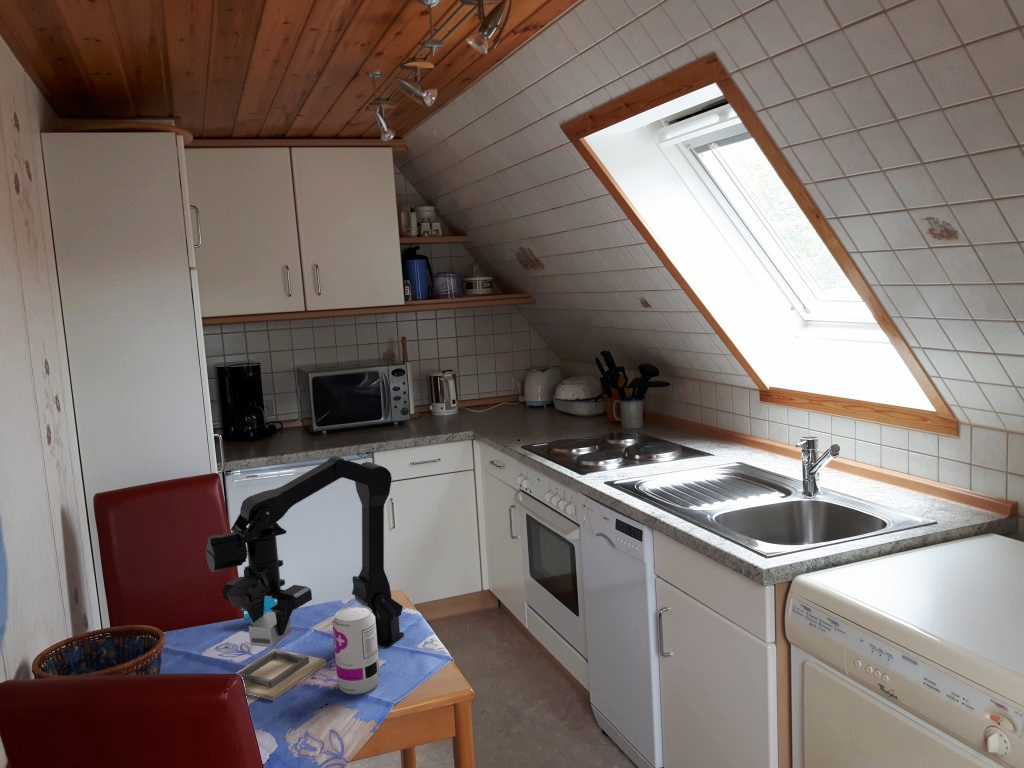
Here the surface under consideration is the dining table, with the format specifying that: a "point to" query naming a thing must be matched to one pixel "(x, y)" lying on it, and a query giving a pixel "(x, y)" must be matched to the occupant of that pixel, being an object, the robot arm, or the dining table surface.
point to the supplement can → (356, 650)
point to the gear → (267, 605)
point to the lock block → (266, 631)
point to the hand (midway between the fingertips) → (270, 632)
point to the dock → (278, 672)
